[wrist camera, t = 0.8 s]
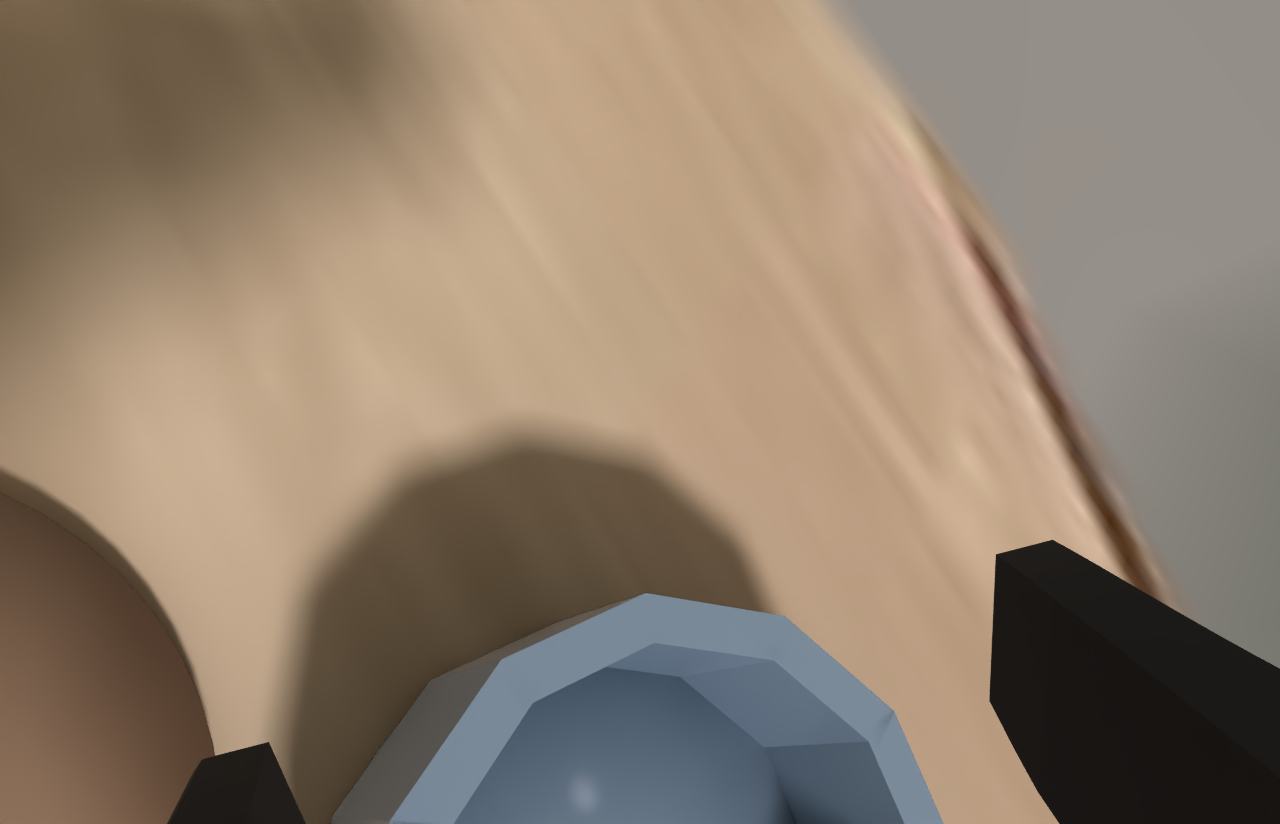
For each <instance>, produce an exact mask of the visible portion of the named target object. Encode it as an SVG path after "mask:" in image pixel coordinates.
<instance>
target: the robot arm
mask: <svg viewBox="0 0 1280 824" xmlns="http://www.w3.org/2000/svg"><path fill="white" fill-rule="evenodd" d="M989 701H990V703H991V704H992V706H993V708H994V710H995V712H996V714H997V716H998V718H999V720H1000V722H1001V724H1002V726H1003V728H1004V730H1005V732H1006V734H1007V736H1008V738H1009V740H1010V741H1011V743H1012V745H1013V747H1014V749H1015V751H1016V753H1017V755H1018V757H1019V758H1020V760H1021V762H1022V764H1023V766H1024V768H1025V769H1026V771H1027V773H1028V775H1029V777H1030V778H1031V780H1032V782H1033V784H1034V786H1035V788H1036V789H1037V791H1038V793H1039V794H1040V796H1041V797H1042V799H1043V800H1044V802H1045V803H1046V805H1047V806H1048V807H1049V809H1050V810H1051V812H1052V813H1053V815H1054V816H1055V818H1056V819H1057V821H1058V822H1059V824H1280V669H1279V668H1277V667H1276V666H1274V665H1272V664H1270V663H1268V662H1266V661H1264V660H1262V659H1261V658H1259V657H1257V656H1255V655H1253V654H1252V653H1250V652H1248V651H1246V650H1244V649H1243V648H1241V647H1239V646H1237V645H1235V644H1233V643H1232V642H1230V641H1228V640H1226V639H1224V638H1223V637H1221V636H1219V635H1217V634H1216V633H1214V632H1212V631H1210V630H1208V629H1207V628H1205V627H1203V626H1201V625H1200V624H1198V623H1196V622H1194V621H1193V620H1191V619H1189V618H1187V617H1186V616H1184V615H1182V614H1181V613H1179V612H1177V611H1175V610H1174V609H1172V608H1170V607H1168V606H1167V605H1165V604H1163V603H1162V602H1160V601H1158V600H1156V599H1155V598H1153V597H1151V596H1149V595H1148V594H1146V593H1144V592H1143V591H1141V590H1139V589H1137V588H1136V587H1134V586H1132V585H1131V584H1129V583H1127V582H1125V581H1124V580H1122V579H1120V578H1119V577H1117V576H1115V575H1114V574H1112V573H1110V572H1108V571H1107V570H1105V569H1103V568H1102V567H1100V566H1098V565H1096V564H1095V563H1093V562H1091V561H1089V560H1088V559H1086V558H1084V557H1082V556H1081V555H1079V554H1077V553H1075V552H1074V551H1072V550H1070V549H1068V548H1066V547H1065V546H1063V545H1061V544H1059V543H1057V542H1056V541H1054V540H1050V541H1046V542H1043V543H1039V544H1035V545H1031V546H1027V547H1023V548H1019V549H1015V550H1012V551H1008V552H1004V553H1000V554H996V565H995V588H994V610H993V633H992V655H991V678H990V700H989ZM167 824H305V821H304V819H303V817H302V815H301V813H300V810H299V808H298V806H297V804H296V801H295V799H294V797H293V795H292V793H291V790H290V788H289V786H288V784H287V782H286V779H285V777H284V775H283V773H282V770H281V768H280V766H279V764H278V762H277V759H276V757H275V755H274V753H273V751H272V748H271V746H270V744H269V742H267V743H263V744H260V745H256V746H252V747H248V748H244V749H240V750H236V751H232V752H229V753H225V754H221V755H217V756H213V757H209V758H205V759H202V760H201V762H200V763H199V764H198V766H197V767H196V769H195V770H194V772H193V774H192V776H191V777H190V779H189V781H188V783H187V785H186V787H185V789H184V791H183V793H182V795H181V797H180V799H179V801H178V803H177V805H176V807H175V809H174V811H173V813H172V815H171V817H170V819H169V821H168V823H167Z"/></svg>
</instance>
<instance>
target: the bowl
mask: <svg viewBox="0 0 1280 824" xmlns="http://www.w3.org/2000/svg"><path fill="white" fill-rule="evenodd" d="M331 824H943V821H942V819H941V817H940V815H939V812H938V810H937V808H936V806H935V803H934V801H933V799H932V796H931V794H930V792H929V790H928V787H927V785H926V783H925V780H924V778H923V776H922V774H921V771H920V769H919V767H918V764H917V762H916V760H915V758H914V755H913V753H912V751H911V749H910V746H909V744H908V742H907V739H906V737H905V735H904V733H903V730H902V728H901V726H900V723H899V721H898V719H897V717H896V714H895V712H894V710H892V709H891V708H890V707H889V706H888V705H887V704H885V703H884V702H883V701H882V700H881V699H880V698H879V697H877V696H876V695H875V694H874V693H873V692H872V691H870V690H869V689H868V688H867V687H866V686H865V685H864V684H862V683H861V682H860V681H859V680H858V679H857V678H855V677H854V676H853V675H852V674H851V673H850V672H849V671H847V670H846V669H845V668H844V667H843V666H842V665H841V664H839V663H838V662H837V661H836V660H835V659H834V658H832V657H831V656H830V655H829V654H828V653H827V652H826V651H824V650H823V649H822V648H821V647H820V646H819V645H817V644H816V643H815V642H814V641H813V640H812V639H811V638H809V637H808V636H807V635H806V634H805V633H804V632H802V631H801V630H800V629H799V628H798V627H797V626H796V625H794V624H793V623H792V622H791V621H790V620H789V619H788V618H786V617H785V616H781V615H775V614H769V613H763V612H757V611H751V610H745V609H739V608H733V607H727V606H721V605H715V604H709V603H703V602H697V601H691V600H685V599H679V598H673V597H667V596H661V595H655V594H649V593H644V594H641V595H637V596H634V597H631V598H628V599H625V600H622V601H619V602H616V603H613V604H610V605H607V606H604V607H601V608H598V609H595V610H592V611H589V612H586V613H583V614H580V615H576V616H573V617H570V618H567V619H564V620H561V621H559V622H557V623H554V624H552V625H550V626H548V627H546V628H543V629H541V630H539V631H537V632H535V633H532V634H530V635H528V636H526V637H524V638H521V639H519V640H517V641H515V642H513V643H510V644H508V645H506V646H504V647H502V648H499V649H497V650H494V651H492V652H490V653H488V654H486V655H484V656H482V657H480V658H477V659H475V660H473V661H471V662H469V663H466V664H464V665H462V666H460V667H458V668H455V669H453V670H451V671H449V672H447V673H444V674H442V675H440V676H438V677H436V678H433V679H431V680H430V681H429V683H428V684H427V686H426V687H425V688H424V690H423V691H422V693H421V694H420V695H419V697H418V698H417V699H416V701H415V702H414V704H413V705H412V706H411V708H410V709H409V711H408V712H407V713H406V715H405V716H404V717H403V719H402V720H401V721H400V722H399V724H398V725H397V726H396V727H395V728H394V730H393V731H392V732H391V733H390V735H389V736H388V737H387V738H386V739H385V741H384V742H383V743H382V744H381V745H380V747H379V749H378V750H377V752H376V753H375V755H374V756H373V758H372V760H371V761H370V763H369V764H368V766H367V768H366V769H365V771H364V772H363V774H362V775H361V777H360V778H359V780H358V781H357V782H356V784H355V785H354V787H353V788H352V789H351V791H350V792H349V794H348V795H347V796H346V798H345V799H344V800H343V802H342V803H341V805H340V806H339V807H338V809H337V810H336V812H335V813H334V814H333V815H332V822H331Z"/></svg>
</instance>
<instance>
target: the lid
mask: <svg viewBox="0 0 1280 824" xmlns="http://www.w3.org/2000/svg"><path fill="white" fill-rule="evenodd" d="M213 756H215V754H214V747H213V742H212V739H211V735H210V732H209V728H208V725H207V721H206V718H205V714H204V711H203V707H202V704H201V700H200V697H199V695H198V693H197V690H196V688H195V686H194V684H193V681H192V679H191V677H190V675H189V672H188V670H187V668H186V666H185V664H184V661H183V659H182V657H181V655H180V653H179V651H178V650H177V648H176V646H175V645H174V643H173V642H172V640H171V639H170V637H169V635H168V634H167V632H166V631H165V629H164V627H163V626H162V624H161V623H160V621H159V620H158V618H157V616H156V615H155V613H154V612H153V611H152V610H151V609H150V607H149V606H148V605H147V604H146V603H145V602H144V600H143V599H142V598H141V597H140V596H139V595H138V593H137V592H136V591H135V590H134V589H133V587H132V586H131V585H130V584H129V583H128V582H127V580H126V579H125V578H124V577H123V576H122V575H121V574H120V573H119V572H118V571H116V570H115V569H114V568H113V567H112V566H111V565H110V564H109V563H107V562H106V561H105V560H104V559H103V558H102V557H101V556H99V555H98V554H97V553H96V552H95V551H94V550H93V549H92V548H90V547H89V546H88V545H87V544H86V543H85V542H83V541H82V540H80V539H79V538H77V537H76V536H74V535H73V534H71V533H70V532H68V531H67V530H65V529H64V528H62V527H61V526H59V525H58V524H56V523H55V522H53V521H52V520H50V519H49V518H47V517H46V516H44V515H43V514H41V513H39V512H37V511H35V510H33V509H31V508H29V507H27V506H25V505H23V504H21V503H19V502H17V501H15V500H13V499H11V498H8V497H6V496H4V495H2V494H0V824H167V823H168V821H169V819H170V817H171V815H172V813H173V811H174V809H175V807H176V805H177V803H178V801H179V799H180V797H181V795H182V793H183V791H184V789H185V787H186V785H187V783H188V781H189V779H190V777H191V776H192V774H193V772H194V770H195V769H196V767H197V766H198V764H199V763H200V762H201V760H202V759H205V758H209V757H213Z"/></svg>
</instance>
